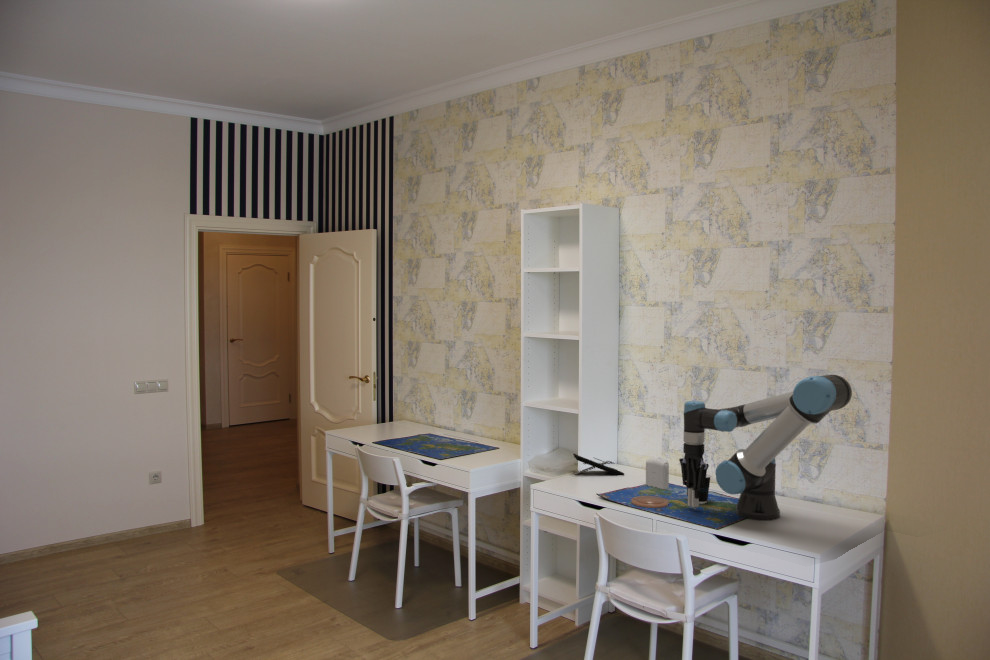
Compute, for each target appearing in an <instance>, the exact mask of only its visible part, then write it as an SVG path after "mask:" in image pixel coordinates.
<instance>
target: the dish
mask: <svg viewBox="0 0 990 660" xmlns="http://www.w3.org/2000/svg"><path fill="white" fill-rule="evenodd" d="M630 501H631V502H630V503H631V504H632V505H633V506H635V507H636V506H637V507H639V508H640V507H641V508H647V509H648V508H649V509H660V508H661V509H662V508H665V507H668V506H669V505H668V504H670V503H669V502H670V501H669V500H668V499H666V498H664V497H660V496H653V495H637V496H635V497H632V498H631V500H630Z"/></svg>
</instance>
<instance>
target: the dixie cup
mask: <svg viewBox="0 0 990 660" xmlns="http://www.w3.org/2000/svg"><path fill="white" fill-rule="evenodd" d="M711 478H712V475H711V474H709V473H706V480H705V487H704V489H700V498H699V505H705V503H706V504H707V502H708V499H709V491H710V490H709V489H710V482H711ZM693 485H694V484H693ZM692 488H694V487H692Z"/></svg>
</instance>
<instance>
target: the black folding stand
mask: <svg viewBox="0 0 990 660" xmlns="http://www.w3.org/2000/svg"><path fill="white" fill-rule="evenodd" d="M572 456H573V458H575V459H576V461H578V462H581V463H582V464H583V465H589V466H590V467H587V468H585V469H584V468H583V469H582V471H583V472H584V473H586V472H588V471H589V470H590V471H592V470H593V469H596V468H597V469H599V470H602V471H604V472H607V473H610V474H612V475H615V476H617V475H623V476H625V473H624V472H623V471H621V470H619V471H618V469H616V468H614V467H611V466H607V464H608V465H610V464H616V463H615V462H612V461H610V460H606V461H605V460H601V459H598V458H596V457H593V459H595V460H597V461H600V462H596V461H594V460H592V459H588V458H586V457H583V456H581V455H578V454H576V453H573V454H572ZM579 471H580V472H579ZM579 471H576V472H574V475H575V474H576V475H581V474H583V472H582V471H581V470H579ZM579 473H580V474H579Z"/></svg>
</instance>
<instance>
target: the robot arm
mask: <svg viewBox="0 0 990 660" xmlns="http://www.w3.org/2000/svg"><path fill="white" fill-rule="evenodd" d="M852 397H853V390H852V386H851V385H850V383H849V381H848V380H847V379H846V378H844V377H843V376H840V375H837V374H826V375H810V376H808V377H806V378H803V379H801V380H800V381H798V382H797V383H796V385H795V387H794V388H793V391H790V392H787V393H786V392H785V393H783V394H778V395H776V396H775V395H774V396H771V397H767V398H764V399H763V398H762V399H759V400H755V401H752V402H748V403H745V404H741V405H736V406H734V407H733V406H732V407H726V408H720V409H717V408H709V407H706V403H705V402H704V401H701V400H689V401H688V400H687V401H686V402H684V407H683V412H682V413H683V442H684V443H683V453H684V456H683V457H681V458H679V459H678V460H679V461H678V462H679V464H680V468H681V478H682V485H683V486H685V487H686V488H687V489H686V495H687V506H688V507H691V508H698V507H699V506H700V504H699V498H700V489H704V487H705V480H706V474H708V473H707V472H708V471H707V470H708V469H709V466H710V465H709V463H705V461H704V454H705V444H704V443H705V434H706V433H705V432H706V430H712V431H718V432H722V433H723V432H728V433H731V432H733V431H734V429H736V428H742V427H743V428H744V427H746V426H748V425H749V426H750V425H753V424H757V423H761V422H765V421H770V420H773V421H772V422H771V423H770V424H769V425H768V426H767V427H766V428H765V429H764V430H763V431H762V432H761V433H760V434H759V435H758V436H757V437H756V438H755V439H754V440H753V441H752V442H751V443H750V444H749V445H748V446H747V447H745V448H740V449H738V450H737V451H736V452H735V453H734V454H733V455H732V456H731V457H730V458H729V459H728V460H723V461H721V462H719V463H718V465H717V466H716V468H715V480H716V483H717V484H718V487H720V489H721V490H722V491H724V492H725V493H727V494H730V495H739V498H738V501H737V504H736V506H735V514H736V515H737V516H739V517H740V518H744V519H748V520H752V521H775V520H778V519H780V517H781V511H780V508H779V504H778V501H777V498H776V466H777V464H776V458H777V456H778V455H779V454H780V453H782V452H783V451H784V450H785V448H787V447H788V446H789V445H790V444H791V443H792V442H793V441H795V439H796V438H797V437H798V436H799V435H800V434H801V433H802V432H803V431H804V430H806V429H807V427H808V426H809V425H811V424H814V425H815V424H819V423H820V422H821V421H822V420H823V419H824V418H826V416H827V415H828V414H829V413H830V412H833V411H836V410H837V411H838V410H841V409H843V408H844V407H846V406H847V405H848V404H849V403H850V402H851V399H852ZM693 484H694V485H693ZM692 487H694V488H692Z"/></svg>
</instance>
